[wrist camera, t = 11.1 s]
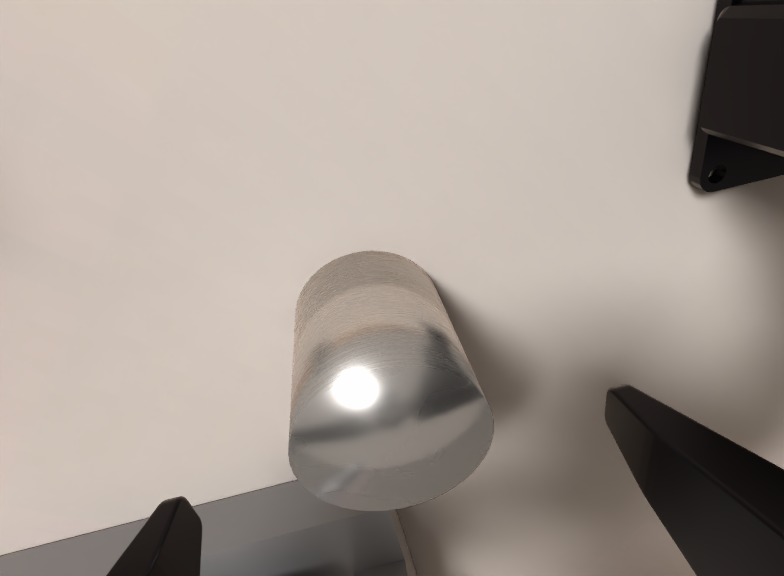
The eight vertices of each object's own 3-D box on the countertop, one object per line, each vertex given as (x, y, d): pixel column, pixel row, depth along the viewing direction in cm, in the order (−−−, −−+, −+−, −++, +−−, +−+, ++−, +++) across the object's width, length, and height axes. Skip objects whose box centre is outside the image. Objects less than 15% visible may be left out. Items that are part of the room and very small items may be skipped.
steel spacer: (428, 234, 13) (486, 342, 9) (447, 352, 15) (499, 482, 11) (275, 271, 13) (257, 400, 8) (318, 384, 15) (320, 529, 11)
